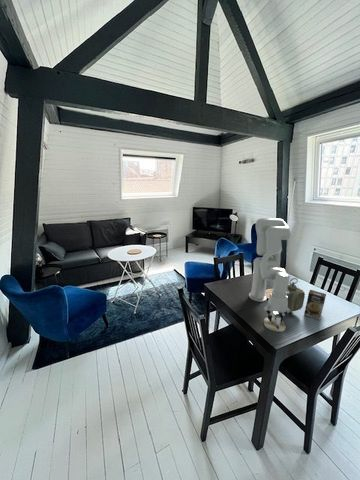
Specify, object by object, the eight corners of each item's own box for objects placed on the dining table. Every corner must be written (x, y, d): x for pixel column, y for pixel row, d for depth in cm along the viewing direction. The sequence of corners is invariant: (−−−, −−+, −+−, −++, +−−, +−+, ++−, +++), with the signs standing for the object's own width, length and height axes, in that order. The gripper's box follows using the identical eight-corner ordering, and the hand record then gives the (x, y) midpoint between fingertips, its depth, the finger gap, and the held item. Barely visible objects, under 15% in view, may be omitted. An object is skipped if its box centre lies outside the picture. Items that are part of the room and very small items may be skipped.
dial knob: (270, 318, 128) (271, 309, 127) (274, 318, 128) (275, 309, 127) (276, 328, 119) (277, 319, 118) (280, 328, 119) (282, 319, 118)
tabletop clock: (290, 307, 144) (296, 274, 138) (302, 314, 136) (309, 279, 130) (274, 311, 139) (280, 277, 132) (286, 319, 131) (292, 283, 124)
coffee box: (303, 314, 136) (308, 292, 132) (305, 310, 141) (309, 289, 137) (320, 320, 130) (325, 297, 126) (321, 315, 135) (326, 293, 131)
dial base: (261, 318, 131) (261, 316, 131) (280, 319, 130) (281, 317, 130) (267, 331, 120) (267, 328, 119) (288, 332, 119) (289, 330, 118)
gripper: (291, 291, 122) (287, 317, 127) (262, 289, 124) (258, 315, 128) (297, 297, 115) (292, 325, 120) (266, 295, 116) (262, 323, 121)
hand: (275, 320), depth 124 cm, fingers open, 5 cm apart
